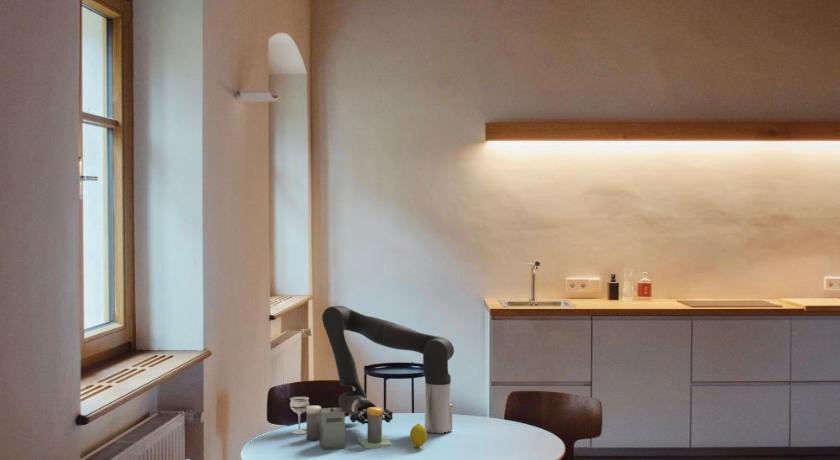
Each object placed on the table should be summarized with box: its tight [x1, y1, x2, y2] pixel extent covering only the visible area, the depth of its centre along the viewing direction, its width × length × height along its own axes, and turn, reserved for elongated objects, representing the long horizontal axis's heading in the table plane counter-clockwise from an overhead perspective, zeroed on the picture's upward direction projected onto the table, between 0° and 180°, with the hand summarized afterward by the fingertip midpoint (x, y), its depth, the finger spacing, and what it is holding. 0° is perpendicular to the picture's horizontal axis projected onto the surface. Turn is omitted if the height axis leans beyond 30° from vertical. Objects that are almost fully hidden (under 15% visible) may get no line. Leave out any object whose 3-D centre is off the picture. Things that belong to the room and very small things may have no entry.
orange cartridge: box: [366, 406, 383, 443], centre depth 264 cm, size 5×5×11 cm
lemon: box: [409, 423, 428, 449], centre depth 259 cm, size 6×6×8 cm
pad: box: [358, 436, 392, 449], centre depth 263 cm, size 9×9×1 cm
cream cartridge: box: [305, 405, 322, 442], centre depth 269 cm, size 5×5×11 cm
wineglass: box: [289, 396, 310, 435], centre depth 278 cm, size 7×7×12 cm
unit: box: [318, 406, 346, 451], centre depth 260 cm, size 7×8×13 cm
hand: (376, 420), depth 262 cm, fingers open, 8 cm apart
